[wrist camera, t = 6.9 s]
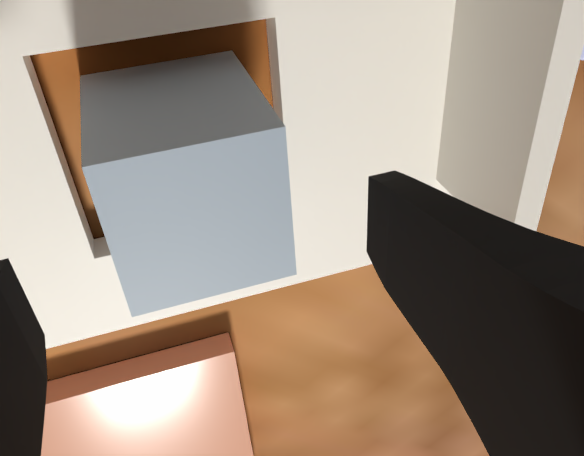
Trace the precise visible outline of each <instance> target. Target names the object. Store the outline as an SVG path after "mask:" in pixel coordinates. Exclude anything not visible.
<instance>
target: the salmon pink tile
mask: <svg viewBox="0 0 584 456" xmlns="http://www.w3.org/2000/svg"><path fill="white" fill-rule="evenodd" d="M41 456H253V451H252V446H251V440H250V435H249V429H248V424H247V418H246V413H245V408H244V402H243V397H242V391H241V386H240V380H239V375H238V369H237V364H236V359H235V353H234V349H233V346H232V343H231V339H230V336H229V333H224V334H220V335H217V336H213V337H209V338H206V339H202V340H198V341H195V342H191V343H187V344H184V345H180V346H176V347H173V348H169V349H165V350H162V351H158V352H154V353H151V354H147V355H143V356H140V357H136V358H132V359H129V360H125V361H121V362H117V363H114V364H110V365H106V366H103V367H99V368H95V369H92V370H88V371H84V372H81V373H77V374H73V375H70V376H66V377H62V378H59V379H55V380H51V381H48V382H47V393H46V405H45V416H44V427H43V438H42V449H41Z"/></svg>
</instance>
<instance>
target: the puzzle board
mask: <svg viewBox="0 0 584 456" xmlns="http://www.w3.org/2000/svg"><path fill="white" fill-rule="evenodd" d="M261 19H266V27H267V39H268V51H269V62H270V74H271V85H272V97H273V109H274V111H275V112H276V114H277V115H278V117H279V118H280V119H281V121H282V122H283V124H284V125H285V127H286V140H287V153H288V166H289V179H290V192H291V206H292V219H293V232H294V245H295V258H296V271H297V275H293V276H289V277H285V278H281V279H277V280H273V281H270V282H266V283H262V284H258V285H254V286H250V287H246V288H243V289H239V290H235V291H231V292H227V293H223V294H220V295H216V296H212V297H208V298H204V299H200V300H196V301H193V302H189V303H185V304H181V305H177V306H173V307H169V308H166V309H162V310H158V311H154V312H150V313H146V314H142V315H139V316H135V317H132V316H131V313H130V310H129V307H128V304H127V301H126V298H125V295H124V292H123V289H122V286H121V283H120V280H119V277H118V274H117V271H116V268H115V265H114V262H113V259H112V256H111V253H110V250H109V247H108V244H107V241H106V238H105V237H101V238H97V239H93V236H92V233H91V230H90V227H89V225H88V222H87V219H86V216H85V213H84V210H83V207H82V204H81V202H80V199H79V196H78V193H77V190H76V187H75V184H74V181H73V179H72V176H71V173H70V170H69V167H68V164H67V161H66V158H65V156H64V153H63V150H62V147H61V144H60V141H59V138H58V135H57V133H56V130H55V127H54V124H53V121H52V118H51V115H50V112H49V110H48V107H47V104H46V101H45V98H44V95H43V92H42V89H41V87H40V84H39V81H38V78H37V75H36V72H35V69H34V66H33V64H32V61H31V58H30V55H35V54H41V53H48V52H54V51H61V50H67V49H74V48H80V47H87V46H93V45H100V44H106V43H112V42H119V41H125V40H132V39H138V38H145V37H151V36H158V35H164V34H171V33H177V32H184V31H190V30H197V29H203V28H210V27H216V26H223V25H229V24H236V23H242V22H248V21H255V20H261ZM583 46H584V0H0V260H3V259H7V258H8V259H9V261H10V263H11V265H12V267H13V269H14V271H15V274H16V276H17V278H18V280H19V282H20V284H21V286H22V288H23V290H24V292H25V294H26V297H27V299H28V301H29V303H30V305H31V307H32V309H33V311H34V313H35V315H36V318H37V320H38V322H39V324H40V326H41V328H42V330H43V332H44V334H45V347H46V349H47V348H51V347H55V346H59V345H63V344H67V343H70V342H74V341H78V340H82V339H86V338H90V337H93V336H97V335H101V334H105V333H109V332H113V331H117V330H120V329H124V328H128V327H132V326H136V325H140V324H143V323H147V322H151V321H155V320H159V319H163V318H166V317H170V316H174V315H178V314H182V313H186V312H189V311H193V310H197V309H201V308H205V307H209V306H213V305H216V304H220V303H224V302H228V301H232V300H236V299H239V298H243V297H247V296H251V295H255V294H259V293H262V292H266V291H270V290H274V289H278V288H282V287H285V286H289V285H293V284H297V283H301V282H305V281H309V280H312V279H316V278H320V277H324V276H328V275H332V274H335V273H339V272H343V271H347V270H351V269H355V268H358V267H362V266H366V265H370V264H372V262H371V260H370V258H369V256H368V254H367V213H368V176H372V175H377V174H381V173H386V172H390V171H394V170H395V171H398V172H400V173H403V174H405V175H408V176H410V177H412V178H415V179H417V180H419V181H421V182H423V183H425V184H427V185H430V186H432V187H434V188H436V189H438V190H440V191H442V192H444V193H447V194H449V195H451V196H453V197H455V198H457V199H459V200H462V201H464V202H466V203H468V204H470V205H472V206H475V207H477V208H479V209H481V210H484V211H486V212H488V213H491V214H493V215H495V216H498V217H500V218H503V219H505V220H508V221H510V222H513V223H515V224H518V225H521V226H523V227H526V228H528V229H531V230H534V231H536V230H537V226H538V222H539V218H540V215H541V211H542V207H543V203H544V199H545V195H546V191H547V187H548V183H549V179H550V175H551V171H552V167H553V164H554V160H555V156H556V152H557V148H558V144H559V140H560V136H561V132H562V128H563V124H564V120H565V117H566V113H567V109H568V105H569V101H570V97H571V93H572V89H573V85H574V81H575V77H576V73H577V70H578V66H579V62H580V58H581V54H582V50H583Z"/></svg>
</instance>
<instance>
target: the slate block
mask: <svg viewBox="0 0 584 456" xmlns="http://www.w3.org/2000/svg"><path fill="white" fill-rule="evenodd" d="M80 105H81V159H82V170H83V173H84V176H85V179H86V182H87V185H88V188H89V191H90V194H91V197H92V200H93V203H94V206H95V209H96V212H97V215H98V218H99V221H100V224H101V227H102V230H103V232H104V235H105V238H106V241H107V244H108V247H109V250H110V253H111V256H112V259H113V262H114V265H115V268H116V271H117V274H118V277H119V280H120V283H121V286H122V289H123V292H124V295H125V298H126V301H127V304H128V307H129V310H130V313H131V316H132V317H135V316H139V315H142V314H146V313H150V312H154V311H158V310H162V309H166V308H169V307H173V306H177V305H181V304H185V303H189V302H193V301H196V300H200V299H204V298H208V297H212V296H216V295H220V294H223V293H227V292H231V291H235V290H239V289H243V288H246V287H250V286H254V285H258V284H262V283H266V282H270V281H273V280H277V279H281V278H285V277H289V276H293V275H297V271H296V258H295V245H294V232H293V219H292V206H291V192H290V179H289V166H288V153H287V140H286V127H285V125H284V124H283V122H282V121H281V119H280V118H279V117H278V115H277V114H276V112H275V111H274V109H273V108H272V107H271V105H270V104H269V102H268V101H267V100H266V98H265V97H264V95H263V94H262V92H261V91H260V90H259V88H258V87H257V85H256V84H255V82H254V81H253V80H252V78H251V77H250V75H249V74H248V72H247V71H246V70H245V68H244V67H243V65H242V64H241V63H240V61H239V60H238V58H237V57H236V55H235V54H234V53H233V51H232V50H231V51H225V52H219V53H213V54H207V55H201V56H195V57H189V58H183V59H177V60H171V61H165V62H159V63H153V64H147V65H141V66H135V67H129V68H123V69H117V70H111V71H105V72H99V73H93V74H87V75H81V76H80Z"/></svg>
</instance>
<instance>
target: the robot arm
mask: <svg viewBox="0 0 584 456" xmlns="http://www.w3.org/2000/svg"><path fill="white" fill-rule="evenodd" d="M580 60H584V46H583V50H582V54H581V58H580ZM367 254H368V256H369V258H370V260H371V262H372V264H373V266H374V268H375V270H376V272H377V274H378V276H379V278H380V280H381V282H382V284H383V285H384V287H385V289H386V291H387V292H388V294H389V295H390V297H391V298H392V299H393V301H394V302H395V304H396V305H397V307H398V308H399V310H400V311H401V312H402V314H403V315H404V317H405V318H406V320H407V321H408V322H409V324H410V325H411V327H412V328H413V329H414V331H415V332H416V334H417V335H418V337H419V338H420V339H421V341H422V342H423V344H424V345H425V346H426V348H427V349H428V351H429V352H430V354H431V355H432V356H433V358H434V359H435V361H436V362H437V363H438V365H439V366H440V368H441V369H442V371H443V373H444V374H445V376H446V377H447V379H448V380H449V382H450V383H451V385H452V387H453V389H454V391H455V392H456V394H457V396H458V398H459V400H460V401H461V403H462V405H463V407H464V409H465V410H466V412H467V414H468V416H469V418H470V419H471V421H472V423H473V425H474V427H475V429H476V431H477V433H478V434H479V436H480V438H481V440H482V442H483V444H484V446H485V448H486V450H487V452H488V454H489V455H490V456H584V247H583V246H580V245H577V244H573V243H570V242H567V241H564V240H561V239H558V238H554V237H551V236H548V235H545V234H542V233H539V232H537V231H534V230H531V229H528V228H526V227H523V226H521V225H518V224H515V223H513V222H510V221H508V220H505V219H503V218H500V217H498V216H495V215H493V214H491V213H488V212H486V211H484V210H481V209H479V208H477V207H475V206H472V205H470V204H468V203H466V202H464V201H462V200H459V199H457V198H455V197H453V196H451V195H449V194H447V193H444V192H442V191H440V190H438V189H436V188H434V187H432V186H430V185H427V184H425V183H423V182H421V181H419V180H417V179H415V178H412V177H410V176H408V175H405V174H403V173H400V172H398V171H395V170H394V171H390V172H386V173H381V174H377V175H372V176H368V213H367ZM46 393H47V362H46V347H45V334H44V332H43V330H42V328H41V326H40V324H39V322H38V320H37V318H36V315H35V313H34V311H33V309H32V307H31V305H30V303H29V301H28V299H27V297H26V294H25V292H24V290H23V288H22V286H21V284H20V282H19V280H18V278H17V276H16V274H15V271H14V269H13V267H12V265H11V263H10V261H9V259H8V258H7V259H3V260H0V456H41V449H42V438H43V427H44V416H45V405H46Z"/></svg>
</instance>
